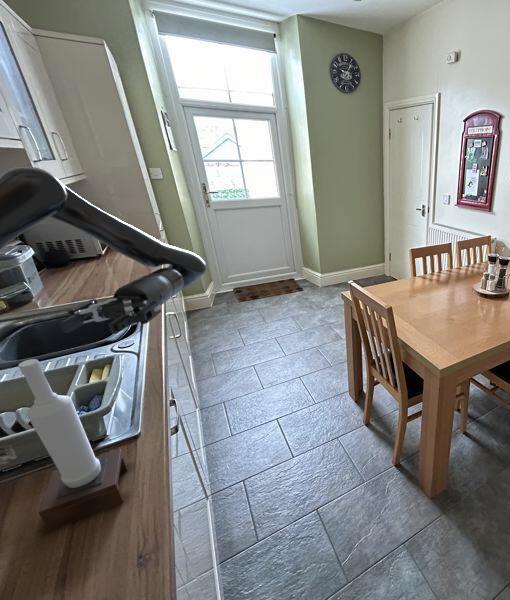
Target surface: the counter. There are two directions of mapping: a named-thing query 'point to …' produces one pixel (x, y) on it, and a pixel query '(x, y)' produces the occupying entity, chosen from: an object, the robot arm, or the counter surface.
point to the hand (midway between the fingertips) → (87, 328)
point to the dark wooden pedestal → (83, 493)
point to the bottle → (60, 429)
